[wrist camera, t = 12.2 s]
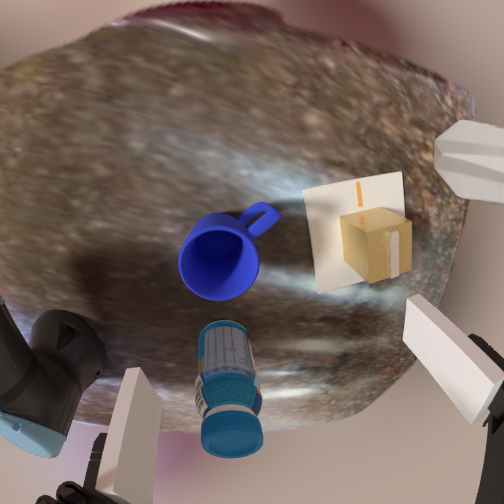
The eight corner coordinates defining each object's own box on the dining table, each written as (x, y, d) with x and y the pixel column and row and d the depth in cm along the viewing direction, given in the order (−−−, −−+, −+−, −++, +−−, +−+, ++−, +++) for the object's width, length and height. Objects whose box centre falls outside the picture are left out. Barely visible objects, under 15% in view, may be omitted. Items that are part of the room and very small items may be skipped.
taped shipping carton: (339, 216, 38) (370, 235, 30) (379, 206, 38) (416, 223, 30) (343, 260, 41) (372, 287, 32) (382, 249, 41) (415, 272, 32)
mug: (283, 219, 38) (305, 243, 29) (216, 276, 40) (217, 315, 30) (243, 173, 35) (253, 181, 26) (174, 234, 37) (161, 263, 28)
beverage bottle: (231, 308, 42) (243, 416, 23) (260, 343, 45) (285, 446, 26) (186, 334, 42) (176, 441, 24) (218, 365, 45) (224, 468, 27)
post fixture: (317, 292, 43) (331, 313, 37) (302, 189, 37) (317, 196, 31) (403, 266, 43) (423, 281, 37) (399, 171, 37) (424, 176, 32)
